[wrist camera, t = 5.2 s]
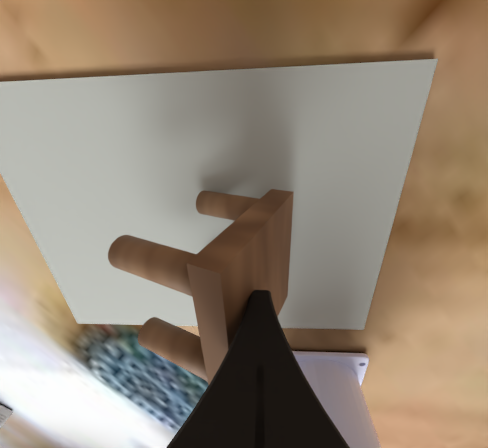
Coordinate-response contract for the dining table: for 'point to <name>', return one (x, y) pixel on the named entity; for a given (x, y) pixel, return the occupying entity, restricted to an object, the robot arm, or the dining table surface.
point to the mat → (214, 176)
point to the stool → (215, 275)
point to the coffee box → (4, 414)
